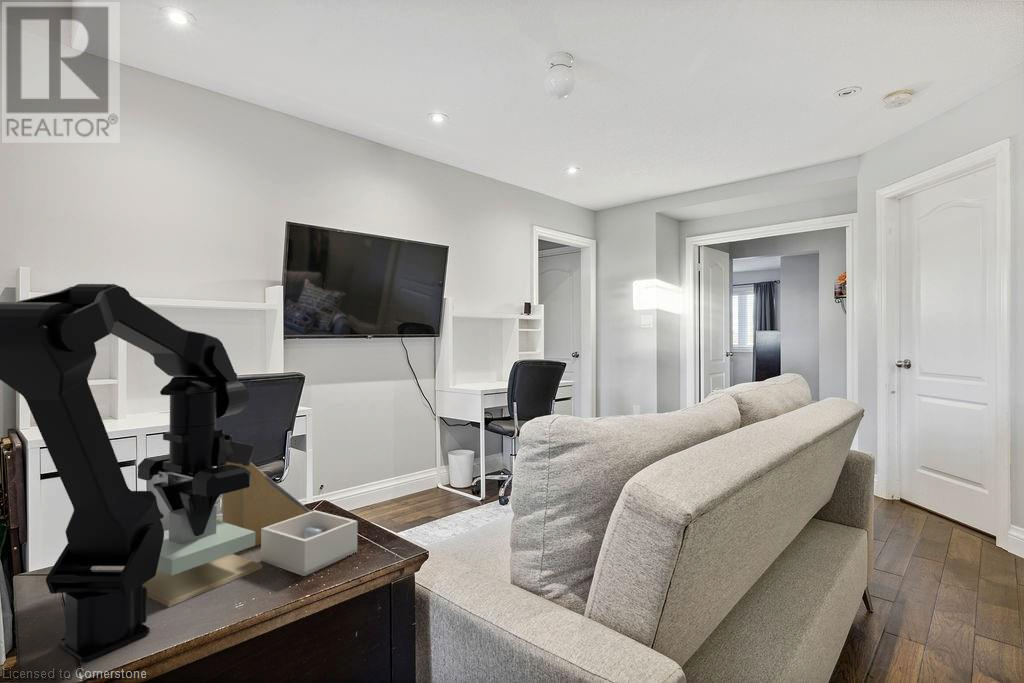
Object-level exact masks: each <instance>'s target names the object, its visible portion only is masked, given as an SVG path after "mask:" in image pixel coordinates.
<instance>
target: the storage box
mask: <svg viewBox="0 0 1024 683" xmlns="http://www.w3.org/2000/svg"><path fill="white" fill-rule="evenodd" d="M310 511H311V512H309V513H306V514H303V515H300V516H297V517H294V518H291V519H288V520H285V521H282V522H279V523H276V524H273V525H270V526H267V527H264V528H261V544H260V561H261V562H263V563H266V564H268V565H272V566H274V567H277V568H280V569H283V570H285V571H289V572H291V573H294V574H297V575H300V576H301V577H306V576H308V575H311V574H313V573H316V572H317V571H320V570H321V569H324V568H326V567H328V566H330V565H332V564H335V563H337V562H339V561H341V560H343V559H345V558H347V556H348V557H349V555H350V556H352V555H354V554H356V553H358V520H355V519H351V518H347V517H343V516H340V515H335V514H331V513H328V512H324V511H319V510H310ZM355 552H356V553H355ZM353 553H354V554H353Z"/></svg>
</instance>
